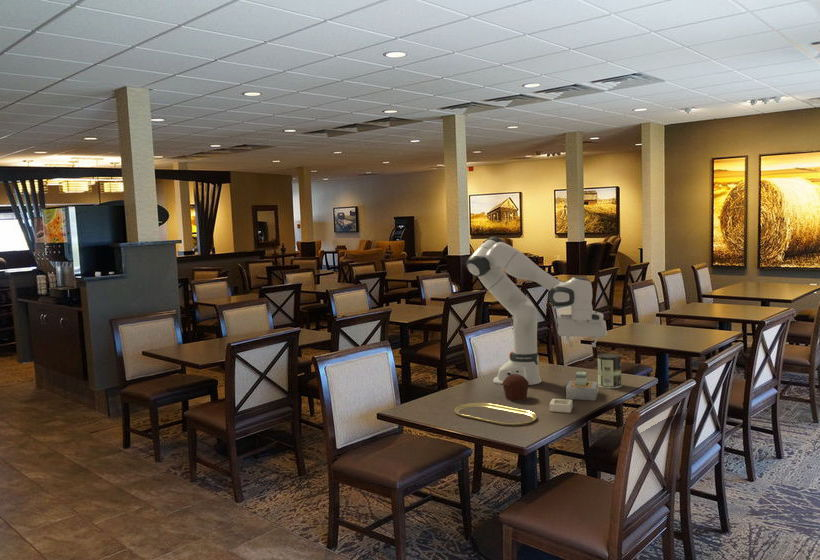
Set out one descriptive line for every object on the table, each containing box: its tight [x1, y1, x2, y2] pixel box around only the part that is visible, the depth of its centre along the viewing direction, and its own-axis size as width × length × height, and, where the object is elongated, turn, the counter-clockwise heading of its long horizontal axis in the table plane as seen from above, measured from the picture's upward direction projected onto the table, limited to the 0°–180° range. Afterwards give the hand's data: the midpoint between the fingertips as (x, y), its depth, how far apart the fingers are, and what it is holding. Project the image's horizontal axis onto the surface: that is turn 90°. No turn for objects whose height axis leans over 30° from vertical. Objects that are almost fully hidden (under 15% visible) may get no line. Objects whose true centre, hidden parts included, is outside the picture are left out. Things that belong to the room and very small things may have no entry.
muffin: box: [501, 374, 529, 402], centre depth 277 cm, size 12×11×10 cm
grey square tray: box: [549, 398, 573, 414], centre depth 258 cm, size 8×8×3 cm
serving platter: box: [454, 402, 538, 427], centre depth 254 cm, size 19×35×2 cm, turn 48°
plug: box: [575, 371, 588, 386], centre depth 277 cm, size 4×4×9 cm
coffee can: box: [596, 352, 622, 389], centre depth 291 cm, size 10×10×14 cm
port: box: [565, 380, 599, 401], centre depth 276 cm, size 12×12×5 cm
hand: (582, 346), depth 275 cm, fingers open, 8 cm apart
